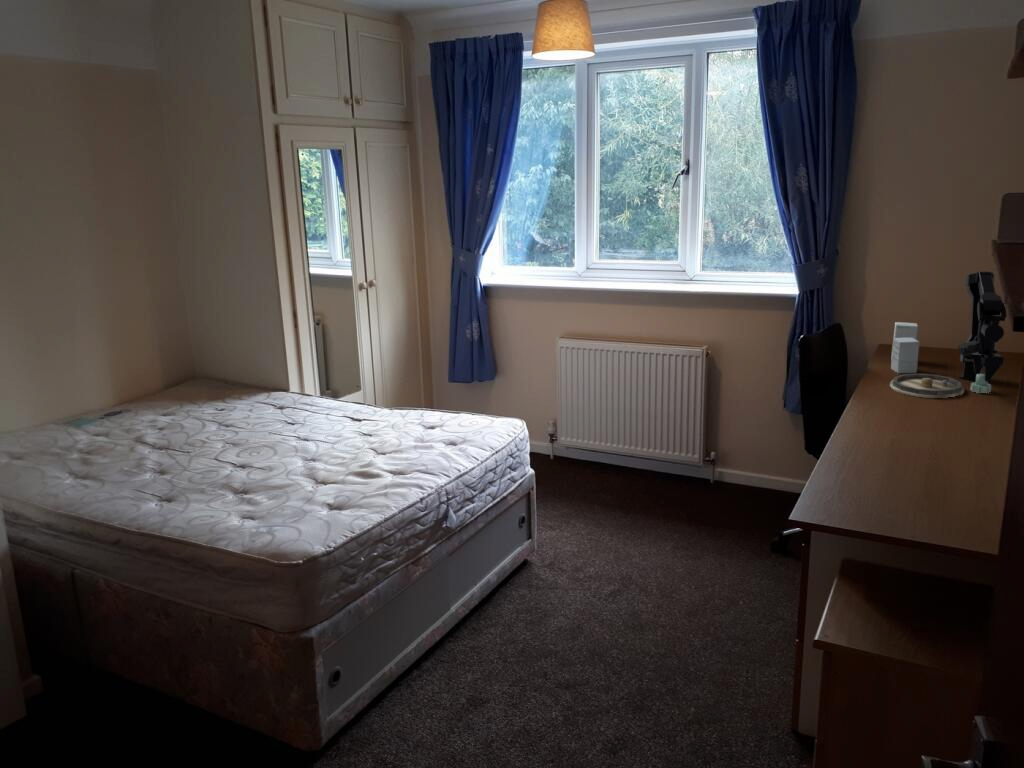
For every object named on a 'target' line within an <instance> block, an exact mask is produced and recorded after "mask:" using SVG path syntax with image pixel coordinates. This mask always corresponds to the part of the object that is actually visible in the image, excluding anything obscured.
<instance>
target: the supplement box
mask: <svg viewBox="0 0 1024 768" xmlns="http://www.w3.org/2000/svg"><path fill="white" fill-rule="evenodd" d="M892 347H893V349H892V348H891V355H892V360H891V362H890V363H891V364H890V369H891V370H892V371H894V372H895V373H896V372H897V373H896V374H918V373H917V372H918V359H919V351H920V341H919V340H917V338H916V339H914V338H912V337H910V338H894V337H893V339H892Z"/></svg>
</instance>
